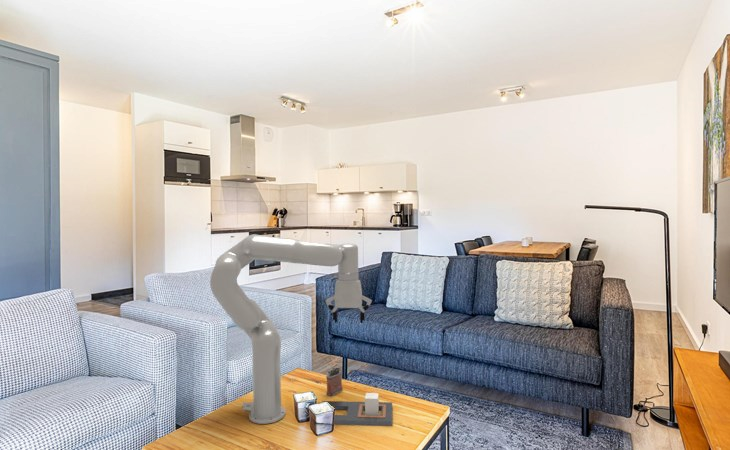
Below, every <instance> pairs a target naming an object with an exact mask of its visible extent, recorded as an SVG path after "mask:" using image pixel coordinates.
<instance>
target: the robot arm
mask: <svg viewBox="0 0 730 450" xmlns="http://www.w3.org/2000/svg"><path fill="white" fill-rule="evenodd" d="M254 260H257V261H266V262H267V261H269V262H279V263H289V264H299V265H300V264H301V265H310V266H319V267H321V266H322V267H335V266H336V267H337V270H338V271H337V273H334V275H333V276H334V278H336V282H335V285H334V294H333V295H332V296H331V297H329V298H327V299H326V300H325V303H326V305H327V307H328V309H329V310H330V311H331V313H332V321H334V324H337V323H338V322H339V321H338V316H339V315H338V312H339V311H338V309H359V310H360V313H359V314H360V315H359V316H360V317H359V318H360V320H359V321H360V322H359V323H360V324H363V323H364V321H365V320H366V319H365V312H366V311H367V310H368V309H369V308H370V306H371V304H372V301H373V300H372V299H371V298H369V297H367V296H365V295H363V290H362V283H361V280H360V279H359V247H358V245H357V244H356V243H342V244H332V243H323V244H321V243H320V244H319V243H314V242H313V243H312V242H306V241H302V240H299V239H294V238H290V237H289V238H288V237H277V236H269V235H260V234H256V233H255V234H253V233H252V234H249V235H248V236H246V237H245V238H243V239H242V240H241V241H239V242H238V243H236V244H235V245H233V246H232V247H231V248H229V249H227V250H226V251H224V253H222V254H221V255H219V257H218V258H217V260H215V265H214V267H213V269H212V272H211V274H210V275H211V276H210V279H209V281H210V282H209V283H210V285H209V286H210V290H211V293H212V295H213V296H214V299H216V301H217V302H218V303H219V305H220V306H221V307H222V309H223V311H225V313H226V314H227V315H228V316H229V318H230V319H231V320H232V321H233V323H234V324H235V326H236V328H238V329H240V330H243V332H245V334H246V335H247V336H248V337H249V339H250V340H251V341H250V342H251V345H252V346H251V347H252V390H253V391H252V392H253V393H252V395H253V396H252V397H253V399H252V401H251V402H242V405H241V408H242V410H243V412H248V411H249V413H248V418H249V421H250V422H253V423H254V424H258V425H259V424H260V425H265V424H273V423H276V422H278V421H280V420H282V419H283V418H284V417H285V416H286V411H287V410H286V408H285V407H284V406H283V405H282V388H281V387H282V385H281V384H282V383H281V381H282V378H281V352H282V351H281V349H282V340H281V336H280V333H279V331H278V329H277V328H276V325H275V324H274V323H273V322H272V320H271V319H270V318H269V317H268V315H267V314H266V313H265V311H264V310H263V309H262V308H261V307H260V305H259V304H258V303H257V302H256V301H255V300H253V299H251V298H249V297H248V295H247V294H246V293H245V291H244V290H243V289H242V288H241V286H240V285H239V283H238V277H239V275H240V273H241V271H242V269H243V268H245V267H247V266H248V265H249V264H251V263H252V262H253V261H254ZM333 301H334V305H333V304H332V303H331V302H333ZM363 301H365V302H366V305H363Z"/></svg>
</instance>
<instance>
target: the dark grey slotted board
mask: <svg viewBox="0 0 730 450" xmlns="http://www.w3.org/2000/svg"><path fill="white" fill-rule="evenodd" d="M322 402H328V403H329V404H330V405H331V406H333V407H334V408H335V410H334V411H347V412H346V414H333V415H334V424H333V425H337V426H338V425H340V426H341V425H343V426H374V427H375V426H385V427H393V402H390V401H389V402H388V401H387V402H385V401H384V402H383V401H379V412H381V413H380V415H378V416H369V415H365V414H364V413H365V401H341V400H339V401H337V400H336V401H335V400H322V401H321V403H322Z"/></svg>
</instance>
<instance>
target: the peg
mask: <svg viewBox="0 0 730 450" xmlns="http://www.w3.org/2000/svg"><path fill="white" fill-rule="evenodd" d="M379 396H380V395H379V393H378V392H365V396H364V402H365V411H364V413H365V414H364V415H369V416H380V415H379V412H380V411H379V402H380V401H379Z"/></svg>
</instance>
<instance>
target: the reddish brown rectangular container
mask: <svg viewBox="0 0 730 450" xmlns="http://www.w3.org/2000/svg"><path fill="white" fill-rule="evenodd" d="M342 375H343V371H342V370H340V366H338V365H337V366H333V367H332V368H331V369H328V370H327V374H326V376H325V378H326V396H327V397H333V396H335V395H336V396H337V394H340V393H341V392H342V391H343V387H342V385H343V384H342V378H343V377H342Z"/></svg>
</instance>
